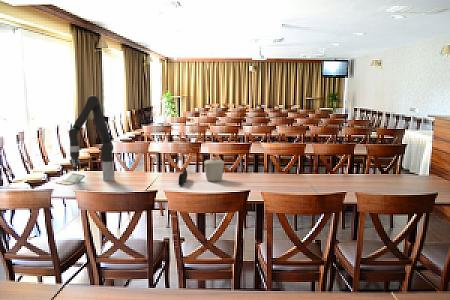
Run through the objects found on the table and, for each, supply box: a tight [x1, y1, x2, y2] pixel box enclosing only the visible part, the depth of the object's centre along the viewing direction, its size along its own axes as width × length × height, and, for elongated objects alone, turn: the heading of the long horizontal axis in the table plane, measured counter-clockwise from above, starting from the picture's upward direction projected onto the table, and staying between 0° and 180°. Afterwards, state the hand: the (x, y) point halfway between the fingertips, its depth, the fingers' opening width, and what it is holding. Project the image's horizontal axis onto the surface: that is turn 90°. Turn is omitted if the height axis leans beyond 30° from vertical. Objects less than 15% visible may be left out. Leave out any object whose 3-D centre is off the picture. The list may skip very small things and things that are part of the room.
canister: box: [203, 156, 226, 183], centre depth 358 cm, size 18×18×21 cm
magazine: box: [178, 167, 188, 186], centre depth 348 cm, size 17×3×30 cm
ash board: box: [55, 179, 77, 186], centre depth 343 cm, size 16×8×2 cm, turn 56°
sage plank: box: [64, 173, 86, 184], centre depth 350 cm, size 16×10×2 cm, turn 56°
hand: (75, 170), depth 353 cm, fingers closed
